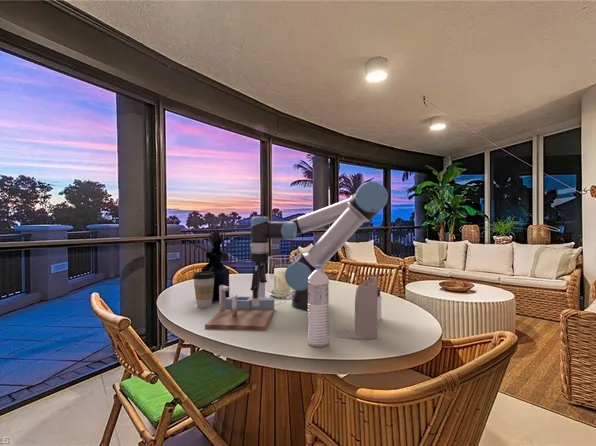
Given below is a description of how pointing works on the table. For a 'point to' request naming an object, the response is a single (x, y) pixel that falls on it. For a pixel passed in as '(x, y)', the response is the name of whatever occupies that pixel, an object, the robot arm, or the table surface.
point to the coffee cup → (204, 288)
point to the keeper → (222, 296)
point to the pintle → (234, 305)
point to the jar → (378, 305)
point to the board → (241, 320)
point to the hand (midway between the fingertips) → (258, 301)
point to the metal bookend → (364, 312)
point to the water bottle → (318, 308)
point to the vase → (217, 264)
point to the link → (250, 303)
